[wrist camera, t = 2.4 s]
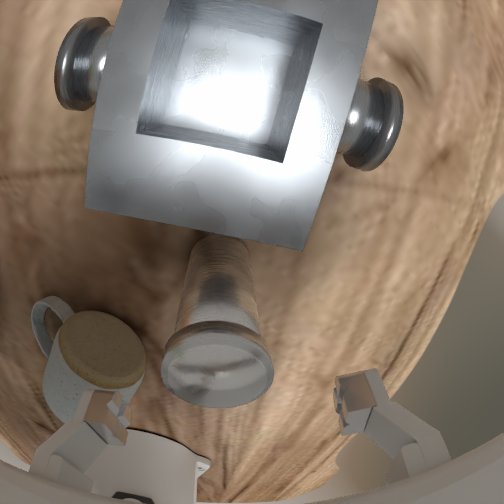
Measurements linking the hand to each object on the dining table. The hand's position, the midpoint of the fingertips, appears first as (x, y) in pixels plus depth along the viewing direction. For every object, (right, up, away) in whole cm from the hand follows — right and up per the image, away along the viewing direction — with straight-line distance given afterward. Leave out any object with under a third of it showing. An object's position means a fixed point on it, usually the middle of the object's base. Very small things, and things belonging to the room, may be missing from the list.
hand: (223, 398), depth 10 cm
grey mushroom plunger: (-1, +5, +10) cm, 11 cm away
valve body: (0, +15, +5) cm, 15 cm away
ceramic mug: (-13, -2, +13) cm, 18 cm away
